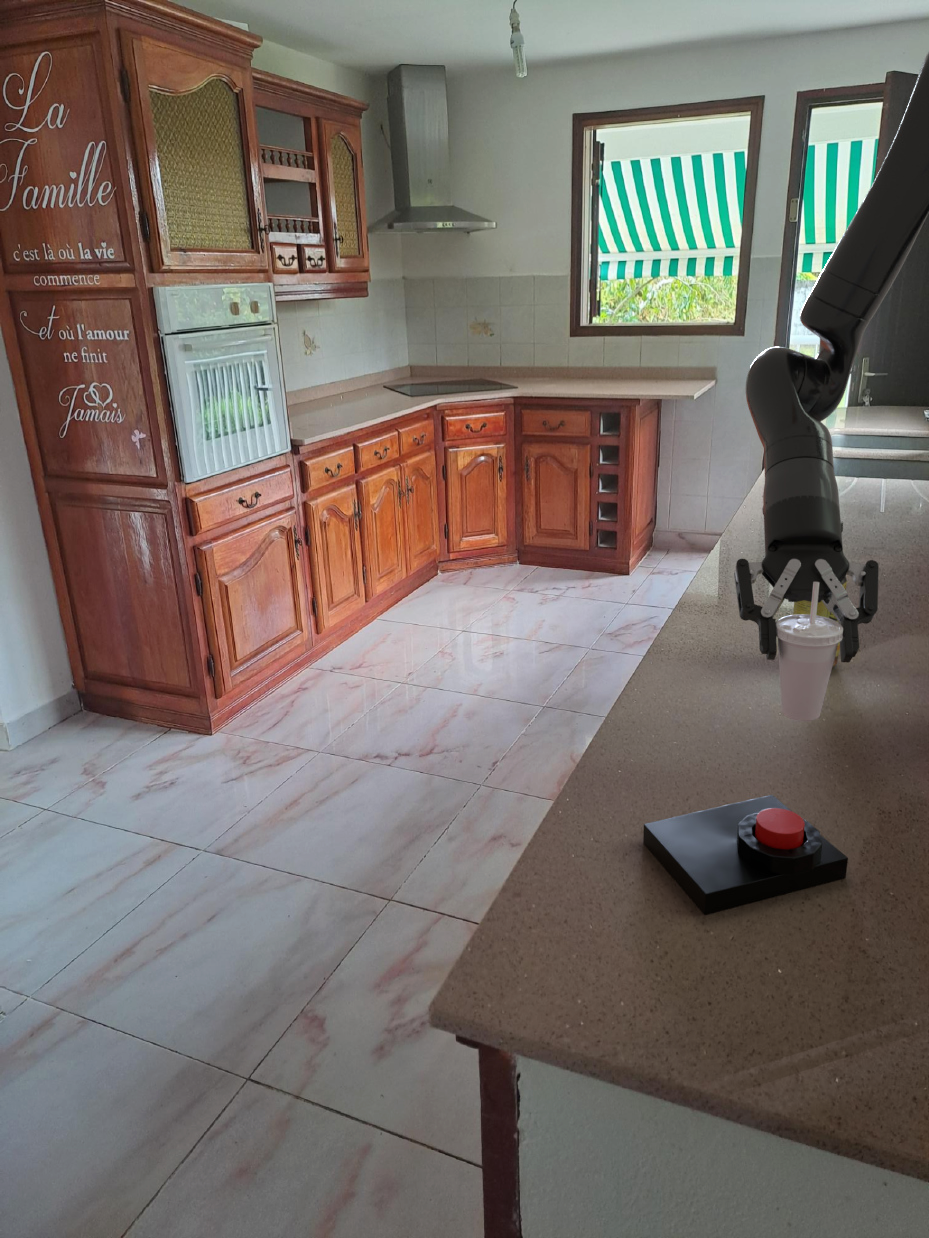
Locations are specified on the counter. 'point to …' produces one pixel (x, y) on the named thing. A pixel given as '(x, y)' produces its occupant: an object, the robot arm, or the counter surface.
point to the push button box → (738, 856)
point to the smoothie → (806, 660)
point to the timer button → (779, 828)
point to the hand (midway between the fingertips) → (809, 658)
